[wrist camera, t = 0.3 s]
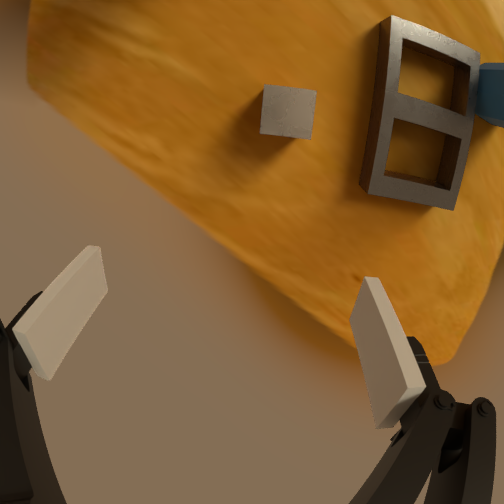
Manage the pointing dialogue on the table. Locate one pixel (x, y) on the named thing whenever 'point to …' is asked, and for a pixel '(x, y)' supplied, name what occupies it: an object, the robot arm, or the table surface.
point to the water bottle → (491, 93)
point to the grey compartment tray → (420, 115)
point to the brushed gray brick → (287, 111)
